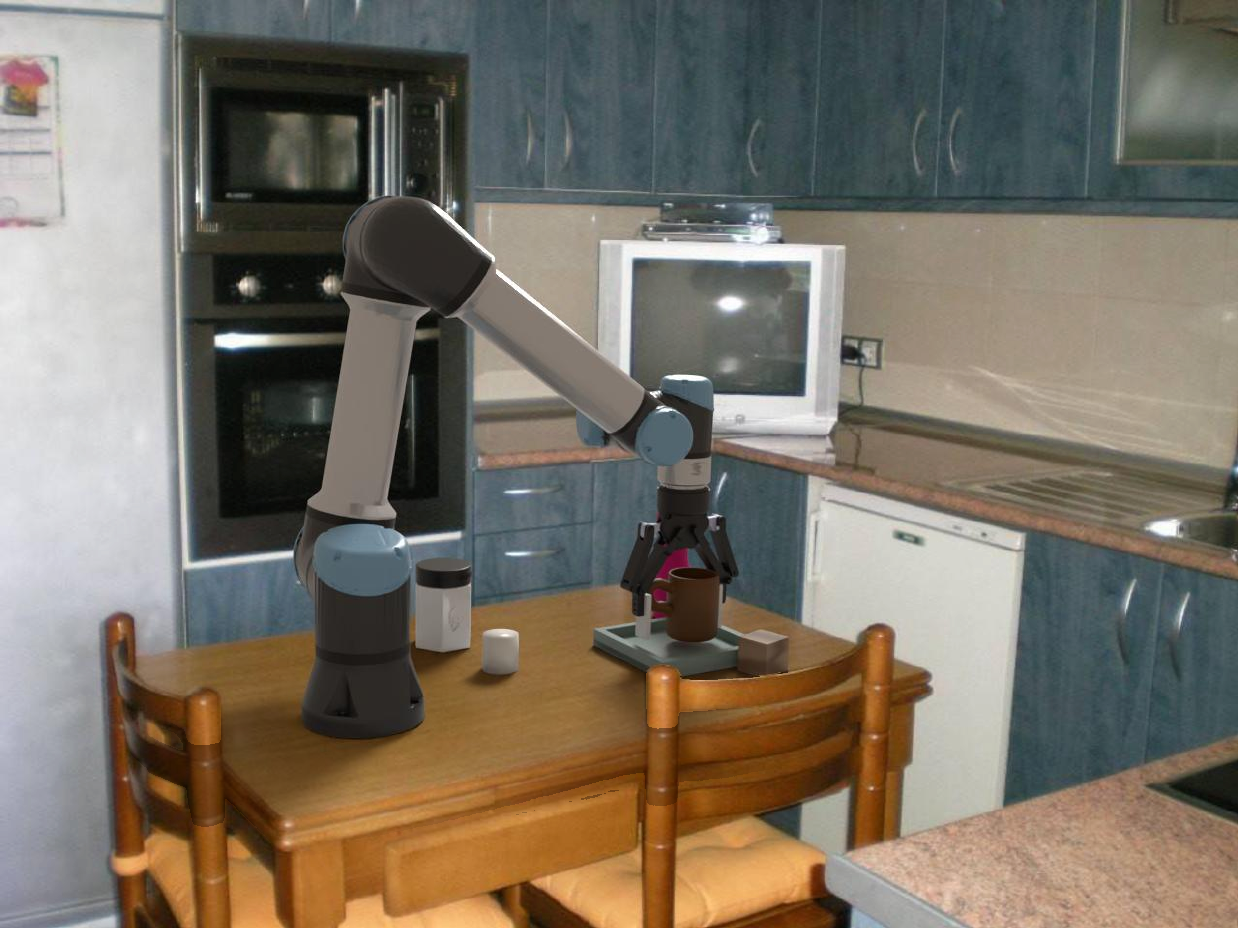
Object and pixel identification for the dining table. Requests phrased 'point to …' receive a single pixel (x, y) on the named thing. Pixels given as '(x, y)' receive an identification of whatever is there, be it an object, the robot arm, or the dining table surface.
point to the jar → (443, 604)
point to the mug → (689, 603)
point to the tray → (669, 648)
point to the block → (763, 653)
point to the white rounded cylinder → (500, 651)
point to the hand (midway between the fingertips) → (678, 631)
